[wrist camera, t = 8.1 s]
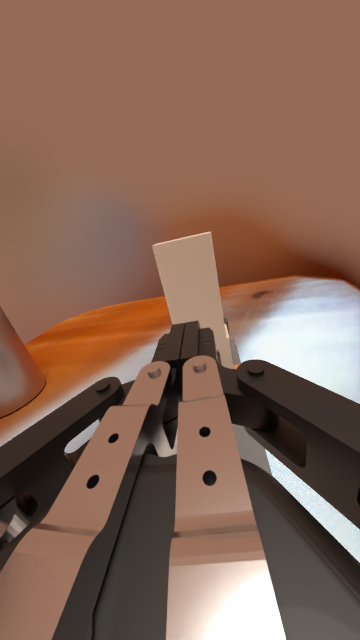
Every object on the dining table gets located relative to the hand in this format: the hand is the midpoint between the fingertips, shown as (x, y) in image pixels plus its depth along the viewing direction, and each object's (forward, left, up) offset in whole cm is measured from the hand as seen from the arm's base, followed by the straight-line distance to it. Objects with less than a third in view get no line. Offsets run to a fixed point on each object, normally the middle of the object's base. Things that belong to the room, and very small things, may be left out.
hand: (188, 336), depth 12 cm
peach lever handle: (-9, +5, -11) cm, 15 cm away
